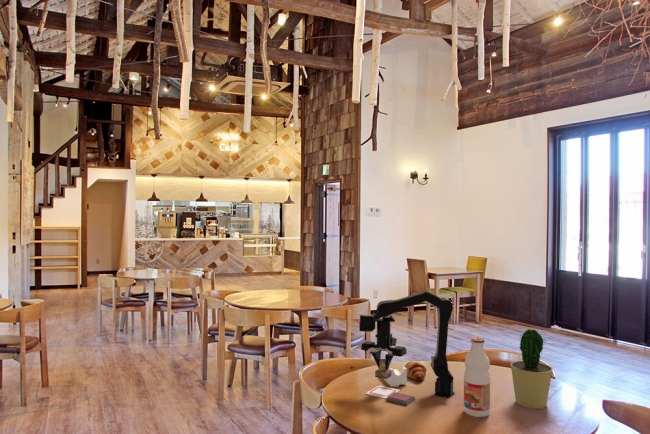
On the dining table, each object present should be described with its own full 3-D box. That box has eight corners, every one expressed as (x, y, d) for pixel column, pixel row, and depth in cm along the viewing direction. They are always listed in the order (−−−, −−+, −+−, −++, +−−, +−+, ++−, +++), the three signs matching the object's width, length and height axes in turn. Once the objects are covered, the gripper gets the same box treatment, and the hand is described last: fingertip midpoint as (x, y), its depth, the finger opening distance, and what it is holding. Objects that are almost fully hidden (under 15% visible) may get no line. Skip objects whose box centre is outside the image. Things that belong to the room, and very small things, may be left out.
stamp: (391, 376, 211) (391, 359, 211) (385, 379, 206) (386, 362, 206) (380, 373, 213) (380, 357, 213) (375, 377, 209) (375, 360, 209)
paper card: (399, 390, 212) (399, 389, 212) (387, 399, 202) (387, 398, 202) (378, 386, 218) (378, 385, 218) (365, 394, 208) (365, 393, 208)
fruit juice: (494, 417, 185) (494, 341, 185) (469, 418, 184) (470, 341, 184) (483, 407, 194) (484, 335, 194) (460, 408, 193) (460, 335, 193)
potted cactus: (527, 412, 190) (528, 333, 190) (502, 398, 205) (503, 324, 204) (561, 408, 194) (562, 331, 194) (534, 395, 209) (535, 323, 209)
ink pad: (415, 399, 202) (415, 395, 202) (406, 405, 195) (406, 402, 195) (394, 395, 207) (394, 391, 207) (386, 400, 200) (386, 397, 200)
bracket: (406, 386, 219) (406, 368, 219) (391, 387, 217) (391, 369, 217) (396, 376, 231) (396, 360, 231) (381, 377, 230) (381, 361, 230)
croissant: (403, 376, 243) (396, 361, 243) (421, 366, 244) (414, 351, 243) (415, 390, 222) (406, 374, 222) (434, 379, 222) (426, 363, 222)
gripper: (412, 331, 211) (411, 368, 211) (373, 325, 222) (372, 360, 222) (400, 336, 202) (400, 375, 202) (360, 330, 212) (360, 367, 212)
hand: (383, 369), depth 210 cm, fingers closed on stamp, 3 cm apart
